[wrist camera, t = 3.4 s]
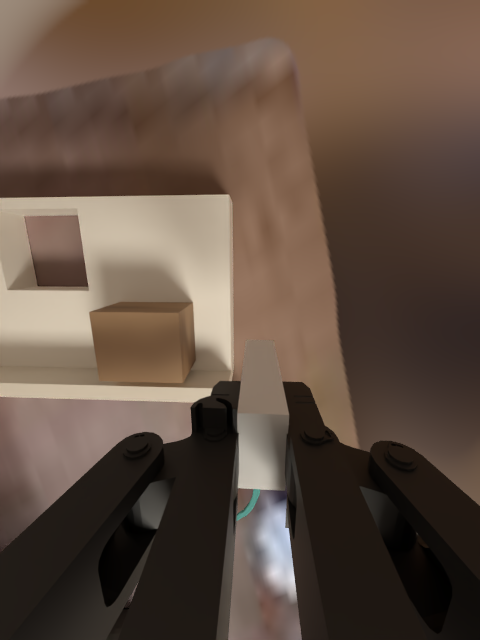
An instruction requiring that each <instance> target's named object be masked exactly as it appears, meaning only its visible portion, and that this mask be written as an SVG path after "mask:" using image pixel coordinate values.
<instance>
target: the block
mask: <svg viewBox="0 0 480 640" xmlns="http://www.w3.org/2000/svg"><path fill="white" fill-rule="evenodd" d="M89 316H90V323H91V329H92V336H93V343H94V349H95V356H96V363H97V370H98V376H99V381H113V382H154V383H183V382H184V380H185V379H186V377H187V375H188V373H189V372H190V370H191V368H192V366H193V365H194V363H195V361H196V354H195V333H194V311H193V302H118V303H115V304H112V305H109V306H106V307H103V308H100V309H97V310H94V311H90V312H89Z"/></svg>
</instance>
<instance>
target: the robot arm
mask: <svg viewBox="0 0 480 640" xmlns="http://www.w3.org/2000/svg"><path fill="white" fill-rule="evenodd" d="M191 420H192V434H191V436H190V437H188V438H186V439H183V440H180V441H176V442H171V443H166V444H163V440H162V439H161V437H160V436H159V435H157V434H155V433H150V432H142V433H137V434H133V435H131V436H129V437H126V438H125V439H123V440H122V441H121V442H119V443H118V444H117V445H116V446H115V447H113V448H112V449H111V450H110V451H109V452H108V453H107V454H106V455H105V456H104V457H103V458H102V459H101V460H100V461H98V462H97V463H96V464H95V465H94V466H93V467H92V468H91V469H90V470H89V471H88V472H87V473H86V474H84V475H83V476H82V477H81V478H80V479H79V480H78V481H77V482H76V483H75V484H74V485H73V486H72V487H71V488H69V489H68V490H67V491H66V492H65V493H64V494H63V495H62V496H61V497H60V498H59V499H58V500H57V501H56V502H54V503H53V504H52V505H51V506H50V507H49V508H48V509H47V510H46V511H45V512H44V513H43V514H42V515H40V516H39V517H38V518H37V519H36V520H35V521H34V522H33V523H32V524H31V525H30V526H29V527H28V528H27V529H25V530H24V531H23V532H22V533H21V534H20V535H19V536H18V537H17V538H16V539H15V540H14V541H13V542H12V543H10V544H9V545H8V546H7V547H6V548H5V549H4V550H3V551H2V552H1V553H0V640H228V632H229V618H230V604H231V590H232V576H233V562H234V548H235V534H236V520H237V506H238V498H237V491H238V488H246V489H265V490H283V491H285V484H286V487H287V508H286V526H285V528H289V533H290V541H291V550H292V558H293V567H294V575H295V584H296V592H297V601H298V609H299V618H300V626H301V635H302V640H480V506H479V505H478V504H477V503H476V502H475V501H473V500H472V499H471V498H470V497H469V496H468V495H467V494H465V493H464V492H463V491H462V490H461V489H460V488H458V487H457V486H456V485H455V484H454V483H453V482H452V481H451V480H449V479H448V478H447V477H446V476H445V475H444V474H443V473H441V472H440V471H439V470H438V469H437V468H436V467H435V466H434V465H432V464H431V463H430V462H429V461H428V460H427V459H426V458H424V457H423V456H422V455H421V454H419V453H418V452H416V451H415V450H414V449H412V448H410V447H408V446H405V445H403V444H400V443H397V442H393V441H379V442H376V443H374V444H373V446H372V447H371V450H370V452H367V451H363V450H360V449H356V448H352V447H350V446H347V445H344V444H342V443H340V442H339V440H338V437H337V436H336V435H335V433H334V432H333V431H332V430H330V429H329V428H328V427H326V426H325V425H324V423H323V420H322V418H321V415H320V413H319V410H318V408H317V405H316V404H315V400H314V398H313V395H312V393H311V390H310V388H308V387H307V386H306V385H305V384H304V383H303V382H282V378H281V373H280V368H279V364H278V359H277V354H276V349H275V344H274V340H246V344H245V353H244V361H243V369H242V378H241V381H219V382H218V383H217V384H216V385H215V386H214V387H213V389H212V392H211V395H210V396H207V397H204V398H201V399H199V400H198V401H196V402H194V404H193V405H192V406H191ZM139 579H140V580H139ZM138 581H139V582H138ZM137 583H138V585H137ZM136 585H137V588H136V591H135V594H134V596H133V599H132V602H131V605H130V607H129V609H123V608H124V606H125V605H126V603H127V601H128V599H129V597H130V596H131V594H132V592H133V590H134V588H135V587H136Z"/></svg>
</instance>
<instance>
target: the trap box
mask: <svg viewBox="0 0 480 640" xmlns="http://www.w3.org/2000/svg"><path fill="white" fill-rule="evenodd" d="M72 215H78V218H79V225H80V232H81V239H82V245H83V252H84V259H85V266H86V273H87V280H88V287H65V286H38V285H37V280H36V275H35V270H34V265H33V260H32V254H31V249H30V244H29V239H28V234H27V229H26V223H25V218H24V216H72ZM118 302H193V311H194V333H195V354H196V361H195V363H194V365H193V366H192V368H191V370H190V372H189V373H188V375H187V377H186V379H185V380H184V382H183V383H154V382H113V381H99V376H98V370H97V363H96V356H95V349H94V343H93V336H92V329H91V323H90V316H89V312H90V311H94V310H97V309H100V308H103V307H106V306H109V305H112V304H115V303H118ZM233 371H234V318H233V203H232V201H231V198H230V195H229V194H228V195H163V196H99V197H34V198H0V397H25V398H59V399H94V400H129V401H164V402H196V401H198V400H199V399H201V398H204V397H207V396H210V395H211V392H212V389H213V387H214V386H215V385H216V384H217V383H218V382H219V381H232V377H233Z"/></svg>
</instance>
